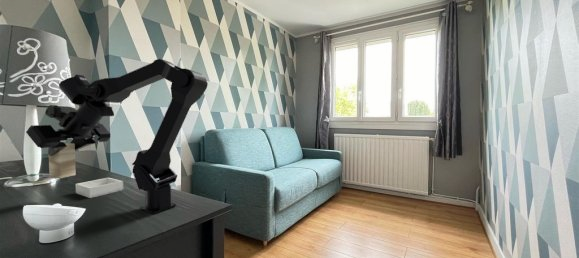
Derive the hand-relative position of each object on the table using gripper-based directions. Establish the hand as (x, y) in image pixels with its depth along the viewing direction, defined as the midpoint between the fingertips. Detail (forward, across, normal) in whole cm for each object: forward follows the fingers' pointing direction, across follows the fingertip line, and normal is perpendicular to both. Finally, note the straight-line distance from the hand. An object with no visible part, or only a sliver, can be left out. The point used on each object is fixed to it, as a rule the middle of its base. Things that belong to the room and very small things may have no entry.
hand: (58, 153), depth 70 cm
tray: (+6, -8, +13) cm, 16 cm away
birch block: (+4, 0, +6) cm, 7 cm away
